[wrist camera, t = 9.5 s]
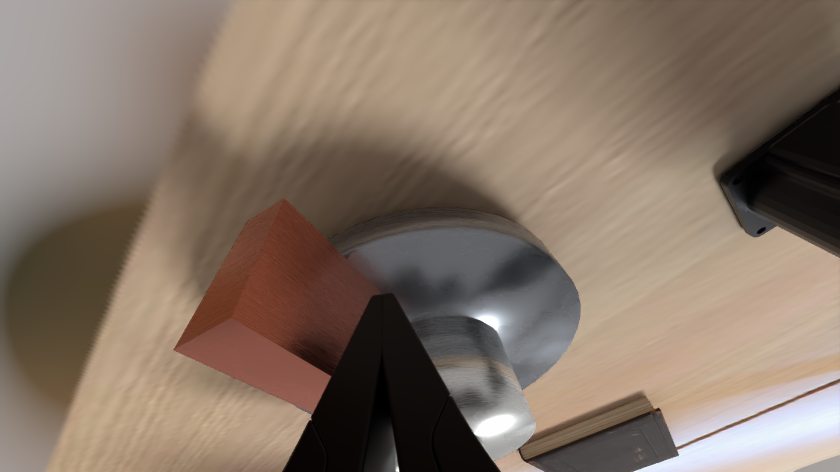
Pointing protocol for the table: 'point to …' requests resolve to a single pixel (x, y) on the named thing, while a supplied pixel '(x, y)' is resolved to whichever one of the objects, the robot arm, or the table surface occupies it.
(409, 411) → the robot arm
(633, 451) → the hardcover book
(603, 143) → the table surface
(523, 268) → the turntable
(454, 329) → the cover
